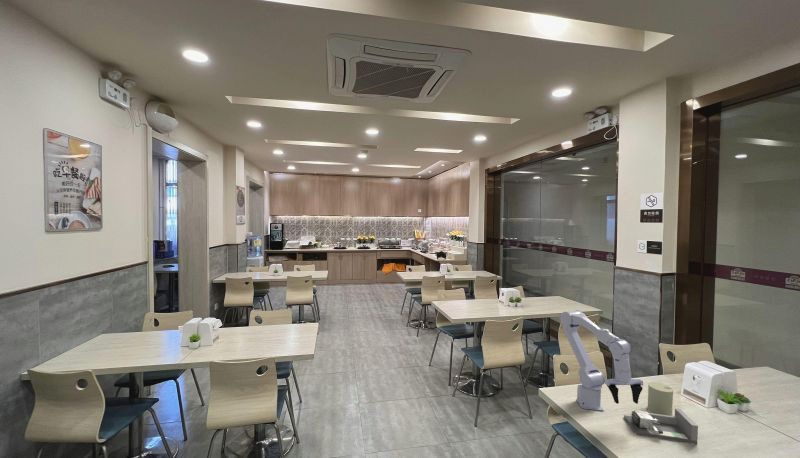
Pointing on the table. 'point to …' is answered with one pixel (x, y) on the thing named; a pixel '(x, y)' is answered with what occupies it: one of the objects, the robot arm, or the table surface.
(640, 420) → the white mechanical block
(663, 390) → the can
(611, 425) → the table surface
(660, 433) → the peak marker
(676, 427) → the gauge base
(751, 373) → the table surface
